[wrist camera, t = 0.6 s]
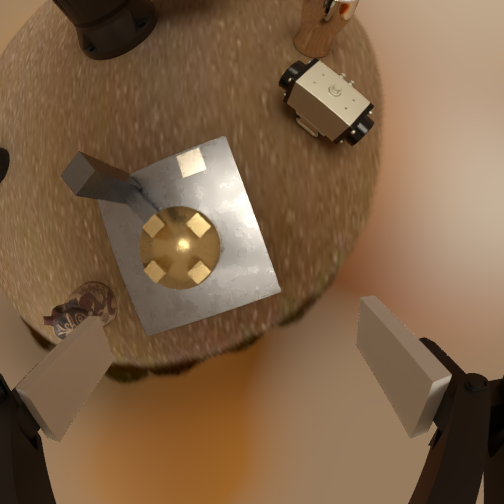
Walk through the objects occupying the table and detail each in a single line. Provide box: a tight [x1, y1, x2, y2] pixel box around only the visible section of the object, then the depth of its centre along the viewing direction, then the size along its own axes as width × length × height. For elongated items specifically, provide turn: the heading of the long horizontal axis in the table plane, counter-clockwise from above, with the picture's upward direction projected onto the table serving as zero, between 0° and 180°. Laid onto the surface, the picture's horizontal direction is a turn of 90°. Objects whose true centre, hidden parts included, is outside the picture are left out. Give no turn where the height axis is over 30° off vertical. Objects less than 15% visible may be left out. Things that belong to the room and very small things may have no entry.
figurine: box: [42, 282, 118, 339], centre depth 32 cm, size 7×7×12 cm
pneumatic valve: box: [279, 58, 374, 146], centre depth 31 cm, size 6×12×12 cm, turn 49°
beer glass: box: [294, 0, 359, 58], centre depth 28 cm, size 7×7×15 cm
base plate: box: [97, 136, 281, 336], centre depth 36 cm, size 22×20×2 cm
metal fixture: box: [61, 151, 221, 290], centre depth 28 cm, size 18×10×13 cm, turn 45°
